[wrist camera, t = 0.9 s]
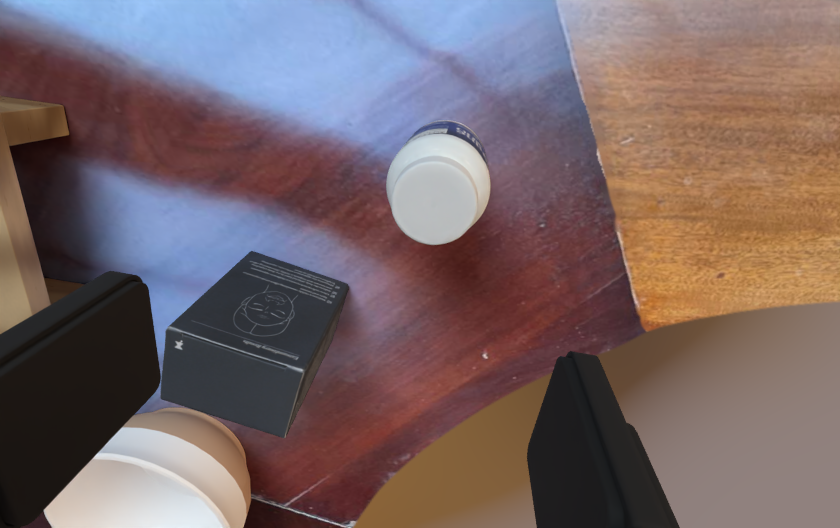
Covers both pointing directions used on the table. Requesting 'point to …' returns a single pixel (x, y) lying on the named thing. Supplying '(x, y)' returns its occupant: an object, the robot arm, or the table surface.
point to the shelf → (23, 214)
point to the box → (253, 343)
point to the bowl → (160, 477)
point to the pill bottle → (439, 183)
